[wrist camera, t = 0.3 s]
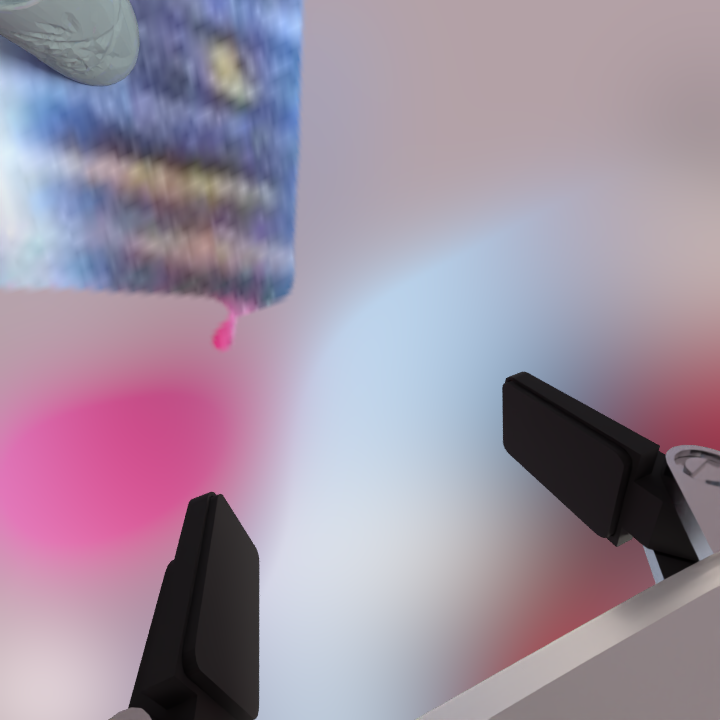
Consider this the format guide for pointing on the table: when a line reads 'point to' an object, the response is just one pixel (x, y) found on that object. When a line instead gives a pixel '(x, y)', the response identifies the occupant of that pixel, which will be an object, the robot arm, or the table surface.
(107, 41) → the grey cylindrical pot
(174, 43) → the table surface
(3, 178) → the table surface
